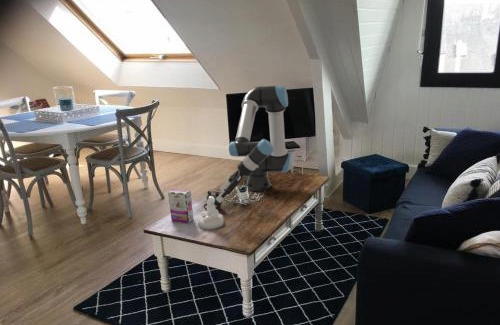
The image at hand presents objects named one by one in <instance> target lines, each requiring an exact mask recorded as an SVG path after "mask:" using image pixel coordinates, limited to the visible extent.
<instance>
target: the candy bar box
mask: <svg viewBox="0 0 500 325" xmlns="http://www.w3.org/2000/svg"><path fill="white" fill-rule="evenodd" d="M191 193H192V192H191V191H190V190H183V189H171V190H170V191H168V193H167V194H168V202H169V210H170V219H171V222H177V223H178V222H179V223H185V224H190V223H191V222H192V221H194V214H193V213H194V212H193V211H194V210H193V203H192V194H191Z"/></svg>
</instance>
